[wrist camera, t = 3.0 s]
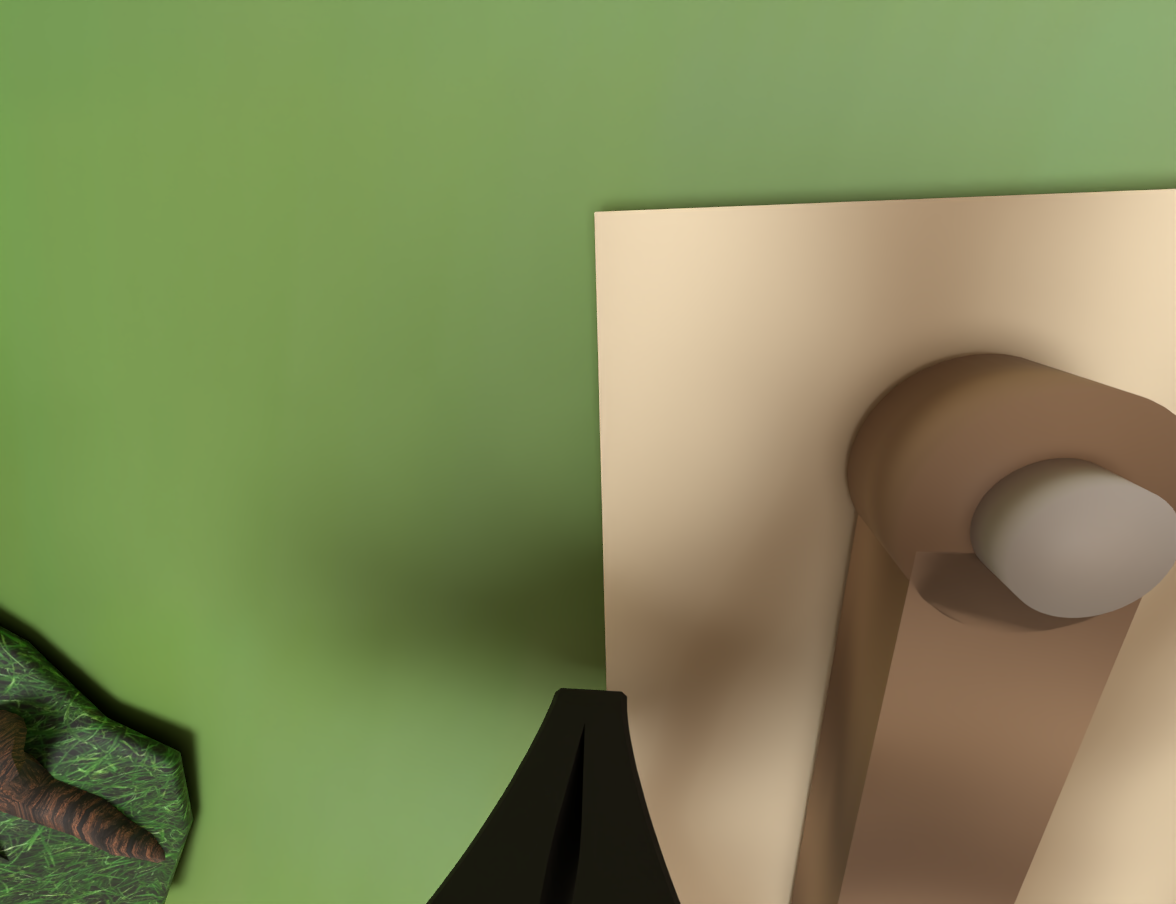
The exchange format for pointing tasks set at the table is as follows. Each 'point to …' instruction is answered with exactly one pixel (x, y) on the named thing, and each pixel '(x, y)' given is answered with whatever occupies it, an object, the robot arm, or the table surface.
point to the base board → (845, 496)
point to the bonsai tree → (81, 794)
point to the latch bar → (978, 622)
